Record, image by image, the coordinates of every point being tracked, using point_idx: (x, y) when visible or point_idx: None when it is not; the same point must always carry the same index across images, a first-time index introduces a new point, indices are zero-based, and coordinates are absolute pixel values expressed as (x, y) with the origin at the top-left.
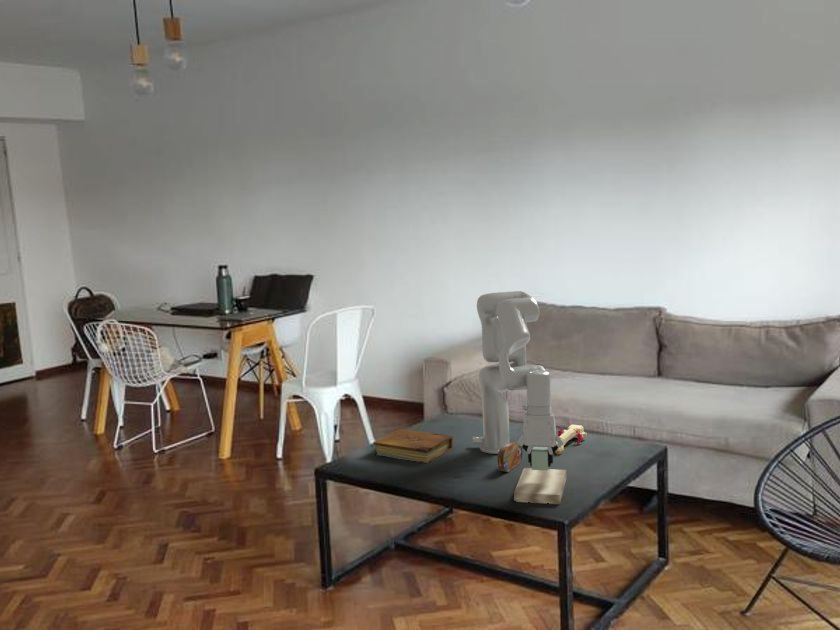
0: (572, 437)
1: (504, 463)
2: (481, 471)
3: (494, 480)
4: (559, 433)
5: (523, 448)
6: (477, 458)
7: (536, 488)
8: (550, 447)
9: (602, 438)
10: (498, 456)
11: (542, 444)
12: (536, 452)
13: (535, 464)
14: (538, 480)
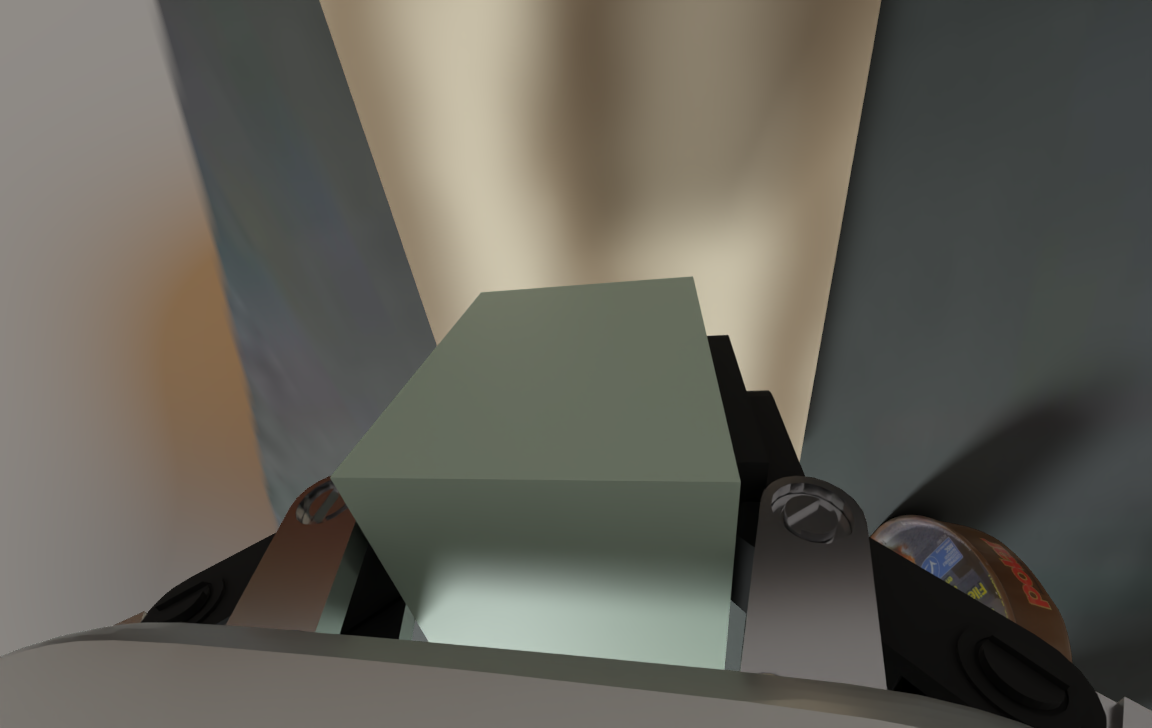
0: None
1: (959, 567)
2: (1106, 520)
3: (1025, 388)
4: None
5: (1002, 622)
6: (1081, 663)
7: (609, 75)
8: (246, 615)
9: None
10: (1060, 628)
11: (258, 724)
12: (594, 466)
13: (637, 315)
14: None
